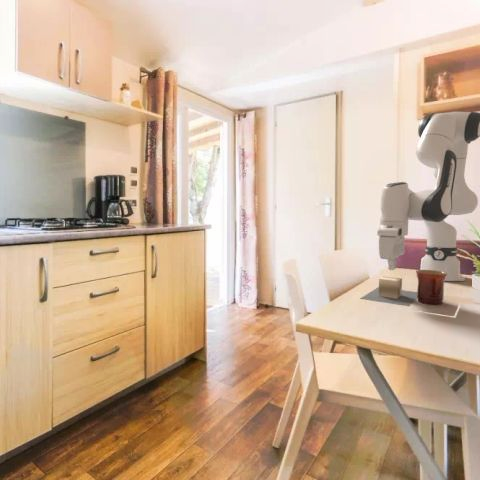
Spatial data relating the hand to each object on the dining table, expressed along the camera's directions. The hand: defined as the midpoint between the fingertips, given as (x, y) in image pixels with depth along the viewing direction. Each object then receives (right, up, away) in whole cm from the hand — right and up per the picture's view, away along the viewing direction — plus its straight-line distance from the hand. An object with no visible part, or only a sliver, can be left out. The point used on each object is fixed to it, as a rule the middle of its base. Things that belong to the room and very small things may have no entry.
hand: (392, 269), depth 119 cm
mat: (0, -9, 0) cm, 9 cm away
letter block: (+1, -6, +2) cm, 6 cm away
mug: (+8, -11, -10) cm, 17 cm away
